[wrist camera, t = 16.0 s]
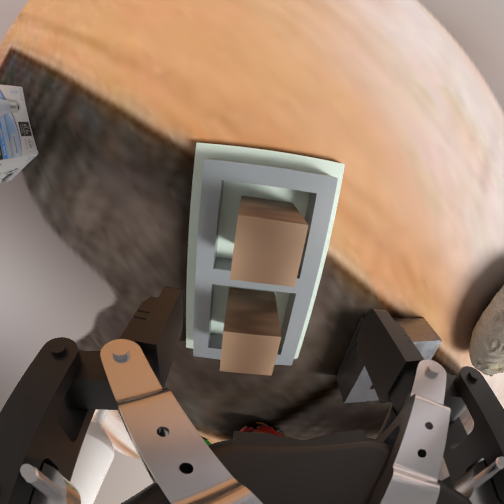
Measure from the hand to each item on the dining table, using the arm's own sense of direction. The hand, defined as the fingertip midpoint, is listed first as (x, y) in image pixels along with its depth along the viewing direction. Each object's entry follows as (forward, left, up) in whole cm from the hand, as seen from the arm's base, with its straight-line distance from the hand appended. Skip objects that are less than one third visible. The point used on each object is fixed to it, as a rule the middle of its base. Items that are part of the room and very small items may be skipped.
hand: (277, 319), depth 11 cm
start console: (-18, +14, -15) cm, 28 cm away
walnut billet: (0, 0, -14) cm, 14 cm away
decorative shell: (-41, +8, -16) cm, 45 cm away
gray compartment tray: (0, +4, -15) cm, 16 cm away
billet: (0, +9, -14) cm, 17 cm away
